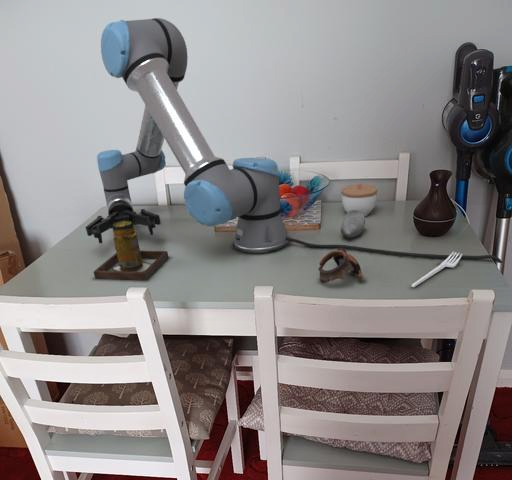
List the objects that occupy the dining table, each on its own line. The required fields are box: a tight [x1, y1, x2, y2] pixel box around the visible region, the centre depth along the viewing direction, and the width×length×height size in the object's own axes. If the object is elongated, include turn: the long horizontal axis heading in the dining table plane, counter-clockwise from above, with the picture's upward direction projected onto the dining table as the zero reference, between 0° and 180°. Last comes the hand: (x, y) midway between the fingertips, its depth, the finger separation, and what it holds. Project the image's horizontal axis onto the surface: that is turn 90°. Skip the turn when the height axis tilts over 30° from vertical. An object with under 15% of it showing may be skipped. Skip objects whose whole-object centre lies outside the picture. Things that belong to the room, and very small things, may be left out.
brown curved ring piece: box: [318, 248, 364, 283], centre depth 123 cm, size 12×10×8 cm
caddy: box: [93, 250, 169, 281], centre depth 139 cm, size 15×15×2 cm
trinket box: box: [341, 182, 378, 217], centre depth 160 cm, size 11×11×9 cm
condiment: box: [111, 221, 151, 272], centre depth 136 cm, size 7×8×12 cm
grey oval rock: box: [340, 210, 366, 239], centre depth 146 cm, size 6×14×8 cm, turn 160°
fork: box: [411, 251, 463, 288], centre depth 122 cm, size 3×20×2 cm, turn 134°
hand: (125, 234), depth 139 cm, fingers open, 13 cm apart
